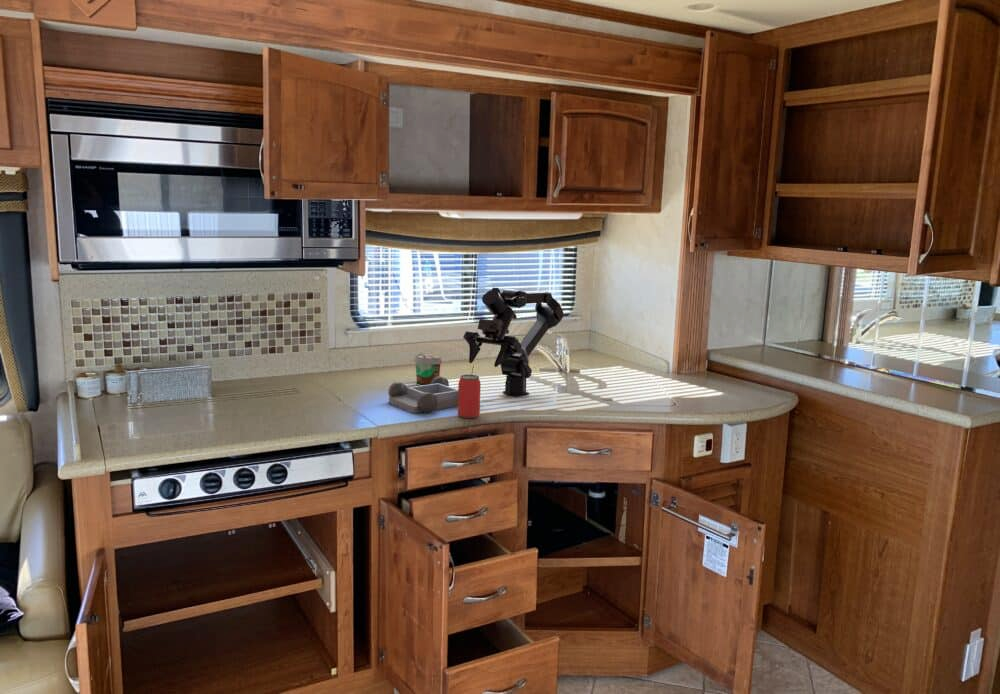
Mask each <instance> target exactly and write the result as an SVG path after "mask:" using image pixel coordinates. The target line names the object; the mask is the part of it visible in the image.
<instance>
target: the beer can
mask: <svg viewBox="0 0 1000 694" xmlns="http://www.w3.org/2000/svg"><path fill="white" fill-rule="evenodd" d="M481 385H482V384H481V381H480V375H479V376H478V375H476V374H462V375H460V378H459V381H458V385H457V387H458V406H457V415H458V416H459V417H460V418H463V419H476V418H478V417H480V413H481V409H480V408H481Z"/></svg>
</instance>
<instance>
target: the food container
mask: <svg viewBox="0 0 1000 694" xmlns="http://www.w3.org/2000/svg"><path fill="white" fill-rule="evenodd" d="M413 362H414V363H415V375H416V376H415V378H416V384H417V385H418V384H419V385H418V386H421V385H429V384H431V381H432V380H433V379H434V378H435V377H437V376H440V373H441V365H442V364H443V363H442V357H437V358H436V357H433V356H428V355H424V354H423V352H417V353H415V354H414V356H413Z"/></svg>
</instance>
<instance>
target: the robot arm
mask: <svg viewBox="0 0 1000 694" xmlns="http://www.w3.org/2000/svg"><path fill="white" fill-rule="evenodd" d="M481 301H482V303H483V305H484V306H485V308H486V309H487V310H488V311H489V312H490V314H492V315H493V316H492V319H486V318H480V319H478V324H477V330H481V331H482V332H481V333H482V334H483V335H484V336H481V335H480V334H479V332H478V331H474V330H473V331H472V330H466V331H465V332H464V335H463V336H462V337H463V339H464V340H465V342H466V343H467V344H468V347H469V355H468V362H469V364H472V363H474V361H475V359H476V357H477V356H478V354H479V352H480V350H481V346H483V344H487V345H488V344H489V345H495V346H500V348H499V349H500V350H499V352H498V354H497V356H496V358H495V361H494V364H493V366H494V367H495V368H498V366H499V365H500V370H501V373H502V376H505V377H506V379H505V383H504V384H505V385H504V387H505V388H504V390H503V391H502V393H503V394H505V395H509V396H512V397H520V396H525V395H530V392H528V391H527V379H528V378H529V379H530V377H531V376H532V372H533V369H532V368H531V367H530V365H529V363H530V360H529V356H530V355H531V353H532V352H533V351H534V349H535V348H536V346H537V345H538V344H539V342H540V341H541V339H542V338H543V337H544V335H545V334H546V333H547V331H548V330H549V329H552V328H554V327H556V326H557V325H559V323H560V322H561V321H562V320H563V318H564V310H563V308H562V306H561V304H560V303H559V302H558V301H557V300H556V299H555V298H554V297H553V295H552V293H551V292H549V291H545V290H537V291H535V290H534V291H524V290H522V289H521V290H520V289H511V288H504V289H502V292H501V290H500V288H499V287H492V289H491V290H487V292H485V293H484V294H483V295H482V298H481ZM528 304H535V308H534V309H535V312H536V315H535V317H536V321H535V322H534V324H533V325H532V326H531V328H529V330H528V331H527V332H526V333H525V335H524V337H523V338H522V340H520V341H519V339H518V338H517V337H516V336H512V335H508V334H510V330H509V327H510V325H511V322H512V320H517V314H516V310H513V308H516V309H520V308H523V307H525V306H526V305H528Z"/></svg>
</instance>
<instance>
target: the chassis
mask: <svg viewBox="0 0 1000 694" xmlns="http://www.w3.org/2000/svg"><path fill="white" fill-rule="evenodd" d="M387 393H388V404H389V403H390V404H389V405H391V404H392V406H394V405H395V407H397V406H398V407H397V408H399V407H400V409H402V408H403V409H402V410H404V409H406V410H405V411H407V410H409V411H411V412H410V413H412V412H413V413H412V414H414V413H415V414H418V413H417V412H420V413H425V414H430V413H429V412H431V413H433V412H434V411H436V410H435V409H437V410H442V408H443V409H448V407H449V408H453V407H454V408H455V407H458V389H457V388H456V387H455V388H454V387H451V386H450V385H449V380H448V378H447V377H444V376H442V375H441V376H437V377H435V378H434V379H433V380H432V381H431V384H429V385H422V386H421V385H417V386H410V387H408V386H407V384H406V383H403V382H400V381H395V382H393V383H392V384H390V386H389V388H388V392H387ZM409 411H408V412H409Z"/></svg>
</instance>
